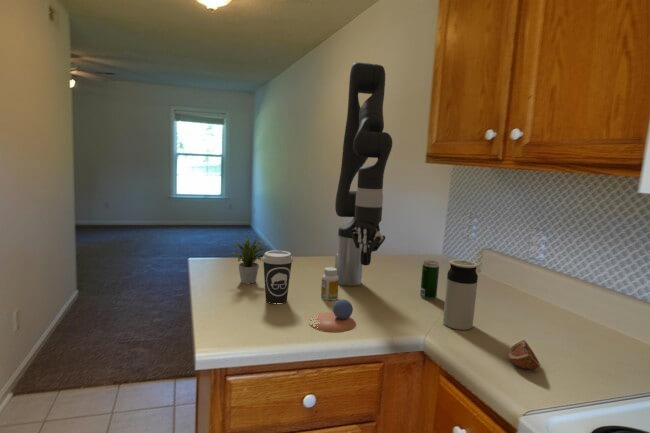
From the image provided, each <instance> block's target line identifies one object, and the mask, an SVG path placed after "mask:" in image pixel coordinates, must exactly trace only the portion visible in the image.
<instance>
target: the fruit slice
mask: <svg viewBox="0 0 650 433" xmlns="http://www.w3.org/2000/svg"><path fill="white" fill-rule="evenodd" d="M507 358H508V359H509V360H510V362H512V363H513V364H514V365H516V366H517V367H519V368H522V369H527V370H531V369H532V370H533V369H537V368H539V367H540V366H541V364H540V362H539V360H538V358H537V356H536V354H535V353H534V351H533V349H532V348H531V347H530V345H529V343H528V342H527V341H526V340H525V339H522V340H521V341H518V342H517V343H515V344H513V345H512V346H511V347H510V348H509V350H508V351H507Z"/></svg>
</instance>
